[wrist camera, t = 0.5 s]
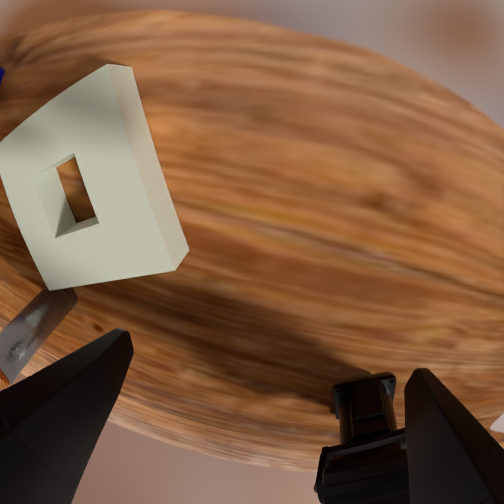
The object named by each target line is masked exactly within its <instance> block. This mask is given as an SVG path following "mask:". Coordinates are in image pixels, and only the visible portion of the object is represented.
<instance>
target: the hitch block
mask: <svg viewBox="0 0 504 504" xmlns="http://www.w3.org/2000/svg"><path fill="white" fill-rule="evenodd" d="M74 157H76V160H77V163H78V167H79V170H80V173H81V175H82V178H83V181H84V184H85V187H86V190H87V193H88V195H89V198H90V201H91V203H92V206H93V209H94V211H95V214H96V217H93V218H90V219H87V220H84V221H82V222H79V223H76V221H75V219H74V216H73V214H72V211H71V209H70V206H69V203H68V201H67V198H66V195H65V193H64V190H63V187H62V184H61V181H60V178H59V175H58V172H57V169H56V167H58V166H59V165H61V164H63V163H65V162H67V161H69V160H70V159H72V158H74ZM0 175H1V178H2V181H3V185H4V188H5V191H6V194H7V197H8V199H9V202H10V205H11V208H12V211H13V213H14V216H15V218H16V221H17V223H18V226H19V228H20V231H21V233H22V236H23V238H24V240H25V242H26V245H27V247H28V249H29V251H30V254H31V256H32V258H33V260H34V262H35V264H36V266H37V268H38V270H39V272H40V274H41V276H42V278H43V280H44V282H45V284H46V286H47V288H48V289H49V291H50V290H56V289H63V288H69V287H75V286H82V285H88V284H94V283H101V282H107V281H113V280H119V279H126V278H132V277H138V276H144V275H150V274H156V273H163V272H169V271H175V270H176V269H177V267H178V266H179V264H180V263H181V261H182V260H183V258H184V257H185V255H186V254H187V252H188V251H189V248H188V245H187V242H186V239H185V237H184V234H183V231H182V228H181V225H180V223H179V220H178V217H177V214H176V211H175V208H174V205H173V203H172V200H171V197H170V194H169V191H168V188H167V185H166V182H165V179H164V176H163V173H162V170H161V166H160V163H159V160H158V157H157V154H156V151H155V147H154V144H153V141H152V138H151V134H150V131H149V128H148V124H147V121H146V117H145V114H144V111H143V107H142V103H141V100H140V96H139V93H138V89H137V85H136V82H135V78H134V74H133V70H132V67H128V66H121V65H114V64H106V65H104V66H103V67H101V68H99V69H97V70H96V71H94V72H92V73H91V74H89V75H88V76H86V77H84V78H83V79H81V80H80V81H78V82H76V83H75V84H73V85H72V86H70V87H69V88H67V89H66V90H64V91H63V92H62V93H60V94H59V95H57V96H56V97H55V98H53V99H52V100H50V101H49V102H48V103H46V104H45V105H44V106H42V107H41V108H40V109H38V110H37V111H36V112H35V113H33V114H32V115H31V116H30V117H28V118H27V119H26V120H25V121H24V122H22V123H21V124H20V125H19V126H18V127H17V128H15V129H14V130H13V131H12V132H11V133H10V134H9V135H7V136H6V137H5V138H4V139H3V140H2V141H1V142H0Z"/></svg>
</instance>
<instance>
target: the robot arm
mask: <svg viewBox="0 0 504 504" xmlns="http://www.w3.org/2000/svg"><path fill="white" fill-rule="evenodd" d="M133 352H134V349H133V345H132V341H131V337H130V333H129V332H128V331H127V330H123V329H120V328H116V329H114V330H112V331H110V332H108V333H107V334H105V335H103V336H101V337H99V338H98V339H96V340H94V341H92V342H90V343H89V344H87V345H85V346H83V347H81V348H80V349H78V350H76V351H74V352H72V353H70V354H69V355H67V356H65V357H63V358H61V359H60V360H58V361H56V362H54V363H52V364H51V365H49V366H47V367H45V368H43V369H42V370H40V371H38V372H36V373H34V374H33V375H32V376H29V377H27V378H25V379H23V380H22V381H20V382H18V383H16V384H14V385H12V386H10V387H8V388H5V389H3V390H1V391H0V504H71V503H72V500H73V498H74V495H75V492H76V489H77V487H78V485H79V482H80V480H81V477H82V475H83V473H84V470H85V468H86V466H87V463H88V460H89V459H90V456H91V454H92V452H93V450H94V447H95V445H96V443H97V440H98V438H99V436H100V434H101V432H102V430H103V427H104V425H105V423H106V421H107V419H108V417H109V415H110V412H111V410H112V408H113V406H114V404H115V402H116V400H117V398H118V395H119V393H120V390H121V388H122V385H123V382H124V379H125V376H126V373H127V371H128V368H129V365H130V362H131V360H132V357H133ZM395 386H396V377H395V376H394V375H391V376H386V377H381V378H376V379H371V380H365V381H359V382H353V383H347V384H340V385H336V386H334V387H333V394H334V404H335V414H336V419H339V423H340V444H341V445H336V446H331V447H328V446H327V447H322V453H321V454H320V460H319V466H318V472H317V478H316V483H315V485H314V491H315V492H316V493H317V494H318V498H319V501H320V503H321V504H504V449H503V448H502V447H501V446H500V445H499V444H498V442H497V441H496V440H495V439H494V438H493V437H492V436H491V435H490V434H489V433H488V431H487V430H486V429H485V428H484V427H483V426H482V425H481V424H480V423H479V422H478V420H477V419H476V418H475V417H474V416H473V415H472V414H471V413H470V412H469V411H468V410H467V409H466V408H465V406H464V405H463V404H462V403H461V402H460V401H459V400H458V399H457V398H456V397H455V396H454V395H453V394H452V393H451V392H450V391H449V390H448V389H447V388H446V387H445V385H444V384H443V383H442V382H441V381H440V380H439V379H438V378H437V377H436V376H435V375H434V374H433V373H432V372H431V371H430V370H429V369H427V368H417V369H415V370H414V372H413V373H412V375H411V377H410V378H409V380H408V382H407V383H406V385H405V389H404V397H405V428H401V429H397V424H396V419H395V413H394V408H393V398H394V392H395Z"/></svg>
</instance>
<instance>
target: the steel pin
mask: <svg viewBox="0 0 504 504" xmlns="http://www.w3.org/2000/svg"><path fill="white" fill-rule="evenodd" d="M76 304H77V296H76V293H75V291H74V289H73V288H72V287H69V288H63V289H56V290H50V291H49V289H48V288H47V286H46V287H45V288H44V289H43V290H42V291H41V292H40V293H39V294H38V295H37V296H36V297H35V298H34V299H33V300H32V301H31V302H30V303H29V304H28V305H27V306H26V307H25V308H24V309H23V310H22V311H21V312H20V313H19V314H18V315H17V316H16V317H15V318H14V319H13V320H12V321H11V322H10V323H9V324H8V325H7V326H6V327H5V328H4V329H3V330H2V332H1V333H0V391H1V390H3V389H5V388H8V387H10V385H11V384H12V383H13V381H14V380H15V379H16V377H17V376H18V374H19V373H20V372H21V371H22V369H23V368H24V367H25V365H26V364H27V363H28V361H29V360H30V359H31V358H32V356H33V355H34V354H35V353H36V351H37V350H38V349H39V348H40V346H41V345H42V344H43V343H44V341H45V340H46V339H47V338H48V337H49V335H50V334H51V333H52V332H53V331H54V329H55V328H56V327H57V326H58V325H59V324H60V322H61V321H62V320H63V319H64V318H65V317H66V316H67V314H68V313H69V312H70V311H71V310H72V309H73V308H74V306H75V305H76Z"/></svg>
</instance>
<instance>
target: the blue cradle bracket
mask: <svg viewBox="0 0 504 504" xmlns="http://www.w3.org/2000/svg"><path fill="white" fill-rule="evenodd" d="M4 72H5V70H4V69H2V68H1V67H0V83H1V80H2V78H3V75H4Z"/></svg>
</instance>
